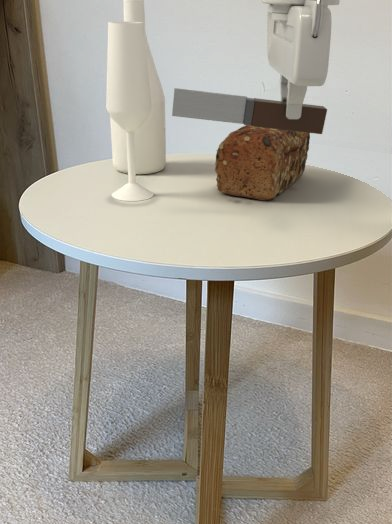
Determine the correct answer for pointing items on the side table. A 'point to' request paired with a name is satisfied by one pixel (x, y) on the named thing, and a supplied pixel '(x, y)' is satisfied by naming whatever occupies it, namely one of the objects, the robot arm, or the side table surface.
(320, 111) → the knife
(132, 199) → the champagne flute
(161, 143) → the wine bottle
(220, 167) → the bread
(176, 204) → the side table surface
